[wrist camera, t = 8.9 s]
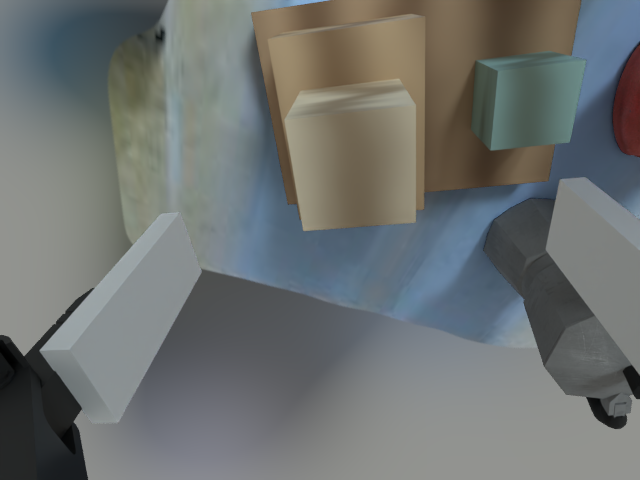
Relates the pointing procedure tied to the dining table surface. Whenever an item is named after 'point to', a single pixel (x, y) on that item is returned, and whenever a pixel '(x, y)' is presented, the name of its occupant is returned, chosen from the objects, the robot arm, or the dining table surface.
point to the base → (438, 78)
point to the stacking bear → (628, 107)
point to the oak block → (354, 155)
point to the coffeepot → (561, 315)
